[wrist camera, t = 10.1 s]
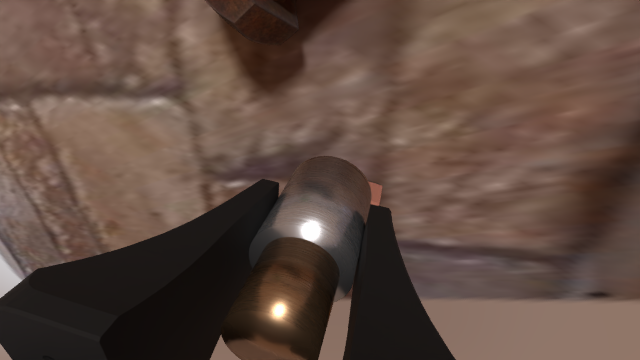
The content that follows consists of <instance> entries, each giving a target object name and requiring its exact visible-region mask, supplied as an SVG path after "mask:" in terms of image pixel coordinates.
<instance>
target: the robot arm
mask: <svg viewBox="0 0 640 360" xmlns="http://www.w3.org/2000/svg"><path fill="white" fill-rule="evenodd" d="M278 195H279V183H278V182H274V181H270V180H265V179H262V180H260V181H258V182H257V183H255V184H253V185H252V186H250V187H249V188H247V189H245V190H244V191H242V192H241V193H239V194H238V195H236V196H234V197H233V198H231V199H229V200H228V201H226V202H224V203H223V204H221V205H220V206H218V207H216V208H214V209H212V210H210V211H209V212H207V213H205V214H203V215H201V216H199V217H198V218H196V219H194V220H192V221H190V222H188V223H186V224H183V225H181V226H179V227H177V228H175V229H172V230H170V231H168V232H165V233H163V234H160V235H158V236H155V237H152V238H150V239H147V240H144V241H141V242H138V243H136V244H133V245H130V246H127V247H124V248H121V249H117V250H114V251H111V252H107V253H104V254H100V255H96V256H93V257H89V258H85V259H81V260H76V261H72V262H67V263H63V264H58V265H54V266H49V267H44V268H39V269H37V270H35V271H34V272H33V273H31V274H30V275H29V276H28V277H26V278H25V279H24V280H23V281H21V282H20V283H19V284H18V285H17V286H15V287H14V288H13V289H11V290H10V291H9V292H8V293H6V294H5V295H4V296H3V297H1V298H0V344H1V345H2V346H3V348H4V349H5V350H6V352H7V353H8V354H9V356H10V357H11V358H12V360H210V358H211V355H212V353H213V351H214V348H215V346H216V344H217V342H218V340H219V337H220V335H221V326H222V323H223V322H224V320H225V318H226V316H227V314H228V312H229V311H230V309H231V307H232V305H233V303H234V302H235V300H236V298H237V296H238V294H239V293H240V291H241V289H242V287H243V285H244V284H245V282H246V280H247V278H248V276H249V275H250V273H251V271H252V266H251V264H250V260H249V248H250V245H251V243H252V241H253V239H254V237H255V236H256V234H257V232H258V231H259V229H260V227H261V226H262V224H263V223H264V221H265V219H266V218H267V216H268V214H269V213H270V211H271V209H272V208H273V206H274V204H275V203H276V201H277V200H278ZM343 360H456V359H455V358H454V357H453V355H452V354H451V352H450V351H449V349H448V347H447V346H446V344H445V343H444V341H443V339H442V338H441V336H440V335H439V333H438V331H437V330H436V328H435V327H434V325H433V323H432V322H431V320H430V318H429V316H428V315H427V313H426V311H425V309H424V307H423V305H422V304H421V301H420V299H419V297H418V295H417V293H416V291H415V289H414V287H413V284H412V282H411V280H410V277H409V275H408V272H407V270H406V267H405V265H404V262H403V259H402V256H401V253H400V250H399V247H398V244H397V240H396V237H395V232H394V228H393V223H392V216H391V211H390V209H389V208H386V207H381V206H377V205H373V204H370V208H369V213H368V217H367V222H366V226H365V230H364V235H363V239H362V244H361V249H360V253H359V258H358V262H357V267H356V271H355V276H354V283H353V291H352V300H351V309H350V317H349V325H348V334H347V340H346V346H345V352H344V356H343Z"/></svg>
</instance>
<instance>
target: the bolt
mask: <svg viewBox="0 0 640 360" xmlns="http://www.w3.org/2000/svg"><path fill="white" fill-rule="evenodd" d="M205 1H206V2H207V3H208V4H209V5H210V6H211V7H212V8H213V9H214V10H215V11H216V12H217V13H218V14H219V15H220V16H221V17H222V18H223V19H224V20H225V21H226V22H227V23H228V24H230V25H231V26H232V27H233V28H235V29H236V30H237V31H238V32H240V33H241V34H242V35H243V36H244V37H246V38H247V39H249V40H251V41H254V42H256V43H260V44H266V45H281V44H282V43H283V42H284V41H286V40H287V39H288V38H289V37H290V36H292V35H293V34H294V33H295V32H296V31H298V30H299V27H298V19H297V11H296V3H295V0H205Z"/></svg>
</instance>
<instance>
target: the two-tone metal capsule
mask: <svg viewBox="0 0 640 360" xmlns="http://www.w3.org/2000/svg"><path fill="white" fill-rule="evenodd" d="M371 199H372V193H371V188H370V184H369V182H368V180H367V178H366V177H365V175H364V174H363V173H362V172H361V171H360V170H359V169H358V168H357V167H356V166H354V165H353V164H351V163H350V162H348V161H346V160H343V159H340V158H337V157H332V156H318V157H314V158H311V159H308V160H306V161H305V162H303V163H302V164H300V165H299V166H298V167H297V169H296V170H295V172H294V173H293V175H292V177H291V178H290V180H289V181H288V183H287V185H286V186H285V188H284V190H283V191H282V193H281V195H280V196H279V198H278V200H277V201H276V203H275V204H274V206H273V208H272V209H271V211H270V213H269V214H268V216H267V218H266V219H265V221H264V223H263V224H262V226H261V227H260V229H259V231H258V232H257V234H256V236H255V237H254V239H253V241H252V243H251V245H250V248H249V260H250V264H251V266H252V271H251V273H250V275H249V276H248V278H247V280H246V282H245V284H244V285H243V287H242V289H241V291H240V293H239V294H238V296H237V298H236V300H235V302H234V303H233V305H232V307H231V309H230V311H229V312H228V314H227V316H226V318H225V320H224V322H223V323H222V326H221V335H222V338H223V340H224V342H225V344H226V345H227V347H228V348H229V349H230V350H231V351H232V352H233V353H234V354H235V355H236V356H237V357H238V358H240V359H241V360H318V357H319V354H320V350H321V346H322V342H323V339H324V335H325V331H326V327H327V324H328V320H329V316H330V313H331V309H332V305H333V302H336V301H338V300H340V299H342V298H343V297H344V296H346V294H347V293H348V292H349V291H350V289H351V287H352V284H353V280H354V276H355V271H356V267H357V262H358V258H359V253H360V249H361V244H362V239H363V235H364V230H365V226H366V222H367V217H368V213H369V208H370V204H371Z"/></svg>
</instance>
